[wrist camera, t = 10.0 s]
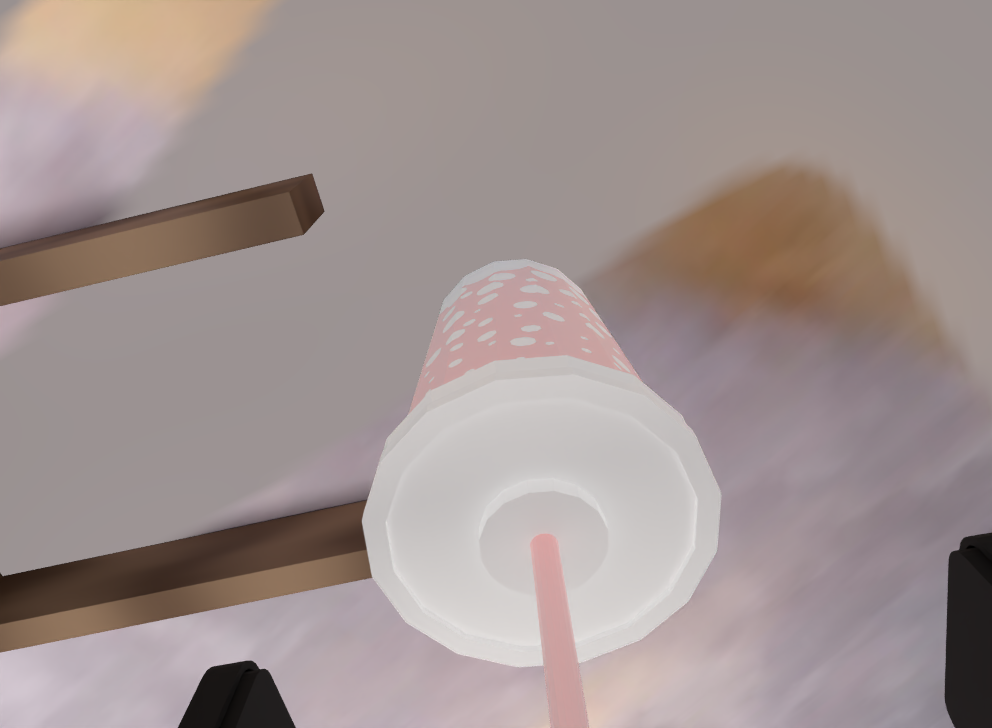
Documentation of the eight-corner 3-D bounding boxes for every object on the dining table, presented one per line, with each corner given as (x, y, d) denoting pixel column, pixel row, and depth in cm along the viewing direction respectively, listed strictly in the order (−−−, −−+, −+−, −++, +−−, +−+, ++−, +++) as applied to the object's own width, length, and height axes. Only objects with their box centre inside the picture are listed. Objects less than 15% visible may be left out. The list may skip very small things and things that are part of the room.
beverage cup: (550, 460, 22) (656, 1041, 9) (371, 374, 20) (202, 917, 8) (664, 297, 20) (1008, 756, 7) (472, 188, 18) (469, 517, 6)
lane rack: (311, 173, 18) (288, 192, 16) (424, 515, 23) (419, 568, 20) (-220, 301, 19) (-314, 336, 17) (-10, 604, 24) (-62, 665, 21)
